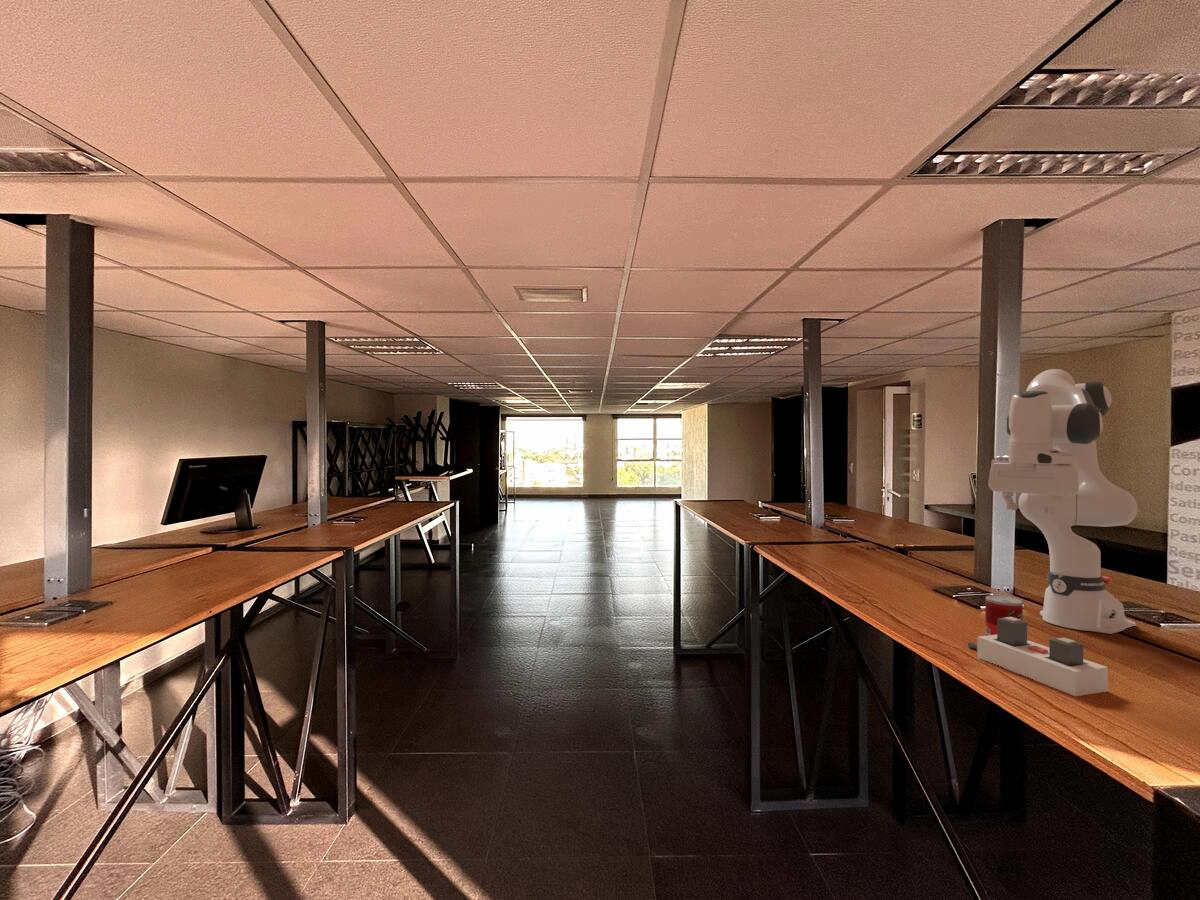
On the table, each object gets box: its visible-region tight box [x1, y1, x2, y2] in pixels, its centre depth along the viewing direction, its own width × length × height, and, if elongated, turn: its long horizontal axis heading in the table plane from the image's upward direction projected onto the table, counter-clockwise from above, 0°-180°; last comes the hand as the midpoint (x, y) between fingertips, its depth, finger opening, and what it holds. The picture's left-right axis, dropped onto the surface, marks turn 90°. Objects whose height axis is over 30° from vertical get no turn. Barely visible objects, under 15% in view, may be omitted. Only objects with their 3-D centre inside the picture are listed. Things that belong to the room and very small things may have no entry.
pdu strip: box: [967, 635, 1109, 697], centre depth 131 cm, size 9×28×9 cm, turn 15°
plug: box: [997, 617, 1028, 647], centre depth 133 cm, size 4×4×8 cm
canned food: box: [984, 594, 1024, 636], centre depth 148 cm, size 8×8×11 cm
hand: (1030, 512), depth 142 cm, fingers open, 8 cm apart
